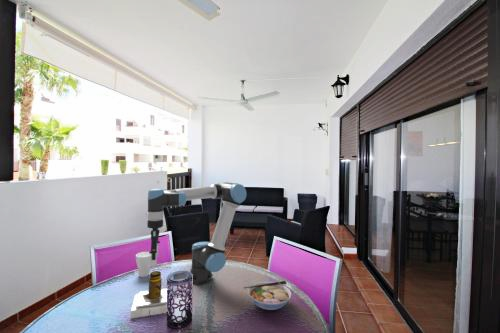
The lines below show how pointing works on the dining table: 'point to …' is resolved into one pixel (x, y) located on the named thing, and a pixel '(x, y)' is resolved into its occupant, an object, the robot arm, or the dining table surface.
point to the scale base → (146, 309)
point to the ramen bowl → (269, 294)
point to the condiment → (154, 287)
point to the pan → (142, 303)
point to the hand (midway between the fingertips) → (154, 260)
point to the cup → (143, 263)
